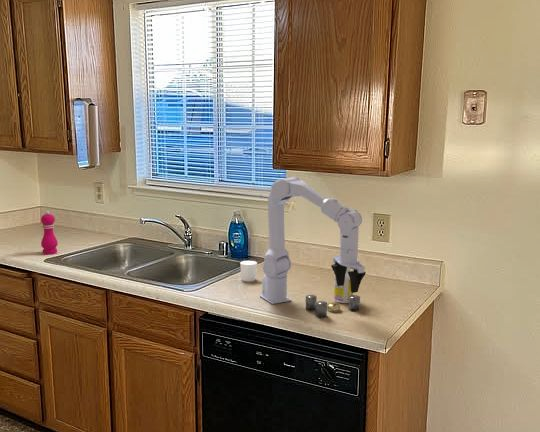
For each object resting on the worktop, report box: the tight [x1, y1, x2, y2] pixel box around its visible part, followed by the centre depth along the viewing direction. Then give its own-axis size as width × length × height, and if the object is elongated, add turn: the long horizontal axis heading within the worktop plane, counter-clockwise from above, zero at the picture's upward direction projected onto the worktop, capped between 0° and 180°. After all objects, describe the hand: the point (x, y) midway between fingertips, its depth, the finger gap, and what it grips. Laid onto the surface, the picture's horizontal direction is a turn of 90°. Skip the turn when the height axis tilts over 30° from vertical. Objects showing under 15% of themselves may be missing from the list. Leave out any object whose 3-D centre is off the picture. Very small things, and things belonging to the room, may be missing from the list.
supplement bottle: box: [333, 267, 354, 304], centre depth 194 cm, size 7×7×13 cm
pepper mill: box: [40, 210, 59, 256], centre depth 255 cm, size 7×7×20 cm
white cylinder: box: [239, 260, 258, 283], centre depth 219 cm, size 7×7×7 cm
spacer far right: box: [315, 300, 328, 319], centre depth 180 cm, size 4×4×4 cm
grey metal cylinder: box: [348, 294, 361, 312], centre depth 187 cm, size 4×4×4 cm
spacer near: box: [305, 294, 317, 312], centre depth 186 cm, size 4×4×4 cm
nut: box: [327, 302, 341, 313], centre depth 186 cm, size 4×4×2 cm
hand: (347, 288), depth 179 cm, fingers open, 7 cm apart
